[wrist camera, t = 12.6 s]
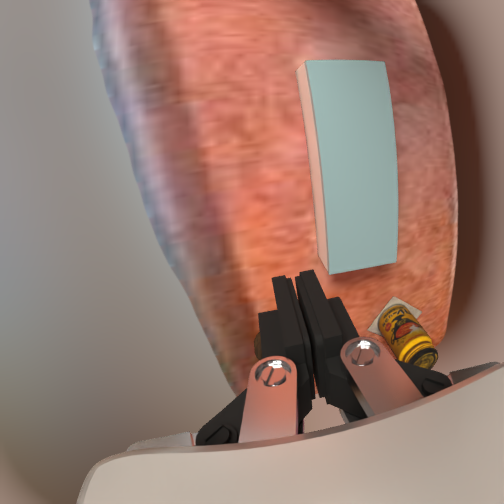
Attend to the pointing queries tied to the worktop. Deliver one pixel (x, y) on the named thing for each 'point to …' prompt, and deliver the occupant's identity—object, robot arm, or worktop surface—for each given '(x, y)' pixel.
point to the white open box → (313, 162)
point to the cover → (355, 161)
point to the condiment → (405, 334)
